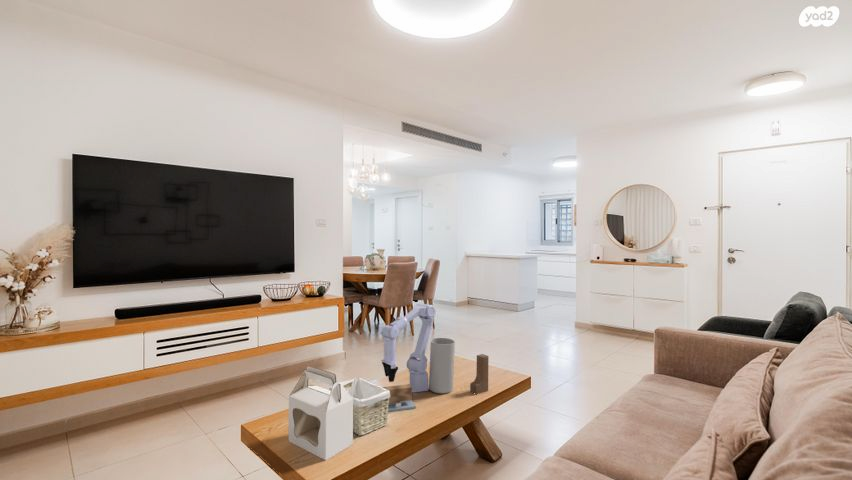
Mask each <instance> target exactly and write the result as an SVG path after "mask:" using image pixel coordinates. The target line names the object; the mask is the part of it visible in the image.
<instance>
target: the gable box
mask: <svg viewBox="0 0 852 480" xmlns="http://www.w3.org/2000/svg"><path fill="white" fill-rule="evenodd" d="M303 370H304V371H303V372H302V375H301V377H300V379H299V380H298V381H297V383H296V384H295V386H294V388H293V390H291V392H290V394H289V396H288V442H289V443H291V444H293V445H295V446H297V447H299V448H301V449H303V450H305V451H307V452H309V453H310V454H313V455H314V456H316V457H318V458H320V459H322V460H324V461H327V460H329V459H330V458H332V457H334V456H336V455H337V454H339V453H341V452H342V451H344V450H346V449H347V448H350V447H351V446H353V445H354V432H353V399H352V397H351V396H350V395H349V393H348V392H347V388H344V387H343V385H342V384H341V383H340V382H341V381H339V382H338V381H337V376H336V374H335V373H333V372H330V371H327V370H323V369H320V368H317V367H314V366H311V365H308V366H307V368H306V369H303ZM315 381H317V382H319V383H323V384H325V385H328V386H332V389H331V391H330V390H329V389H326V388H325V387H321V386H318V385H317V384H316V383H315ZM339 402H340V403H339Z"/></svg>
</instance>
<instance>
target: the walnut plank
mask: <svg viewBox="0 0 852 480" xmlns="http://www.w3.org/2000/svg"><path fill="white" fill-rule="evenodd" d="M381 387H382V388H385V389H387V390H389V391H390V398H389V403H393V402H401V401H409V400H412V401H413V393H412V387H411V385H410V383H409V384H400V385H399V384H398V385H390V386H381Z"/></svg>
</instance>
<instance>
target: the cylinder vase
mask: <svg viewBox="0 0 852 480" xmlns="http://www.w3.org/2000/svg"><path fill="white" fill-rule="evenodd" d="M455 348H456V341H455V340H454V339H451V338H447V337H434V338H432V339H430V349H429V350H430V352H429V373H428V389H429V390H430V391H431V392H433V393H436V394H449V393H451V392H452V391H453V390H454V374H455Z"/></svg>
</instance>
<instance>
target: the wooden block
mask: <svg viewBox="0 0 852 480" xmlns="http://www.w3.org/2000/svg"><path fill="white" fill-rule="evenodd" d="M486 390H488V391H489V355H487V354H484V353H481V354H477V355H476V376H475V379H474V380H473V381H471V382H470V385H469V391H470V393H472V394H474V393H475V394H474V395H479V394H482V393H484V392H483V391H485V392H487V391H486ZM481 392H482V393H481ZM478 393H479V394H478Z"/></svg>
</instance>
